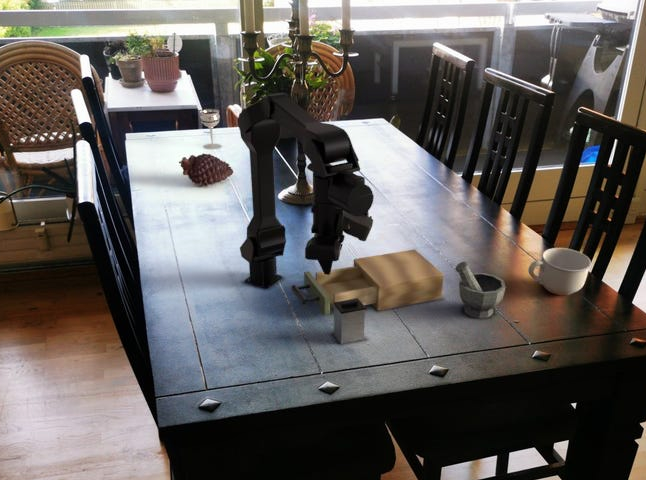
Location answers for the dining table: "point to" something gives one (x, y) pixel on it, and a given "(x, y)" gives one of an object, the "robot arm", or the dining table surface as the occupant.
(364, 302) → the drawer
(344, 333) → the metal box
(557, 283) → the teacup
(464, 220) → the dining table surface
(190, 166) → the pine cone
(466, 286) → the mortar and pestle
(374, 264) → the cabinet
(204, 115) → the wineglass
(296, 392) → the dining table surface
